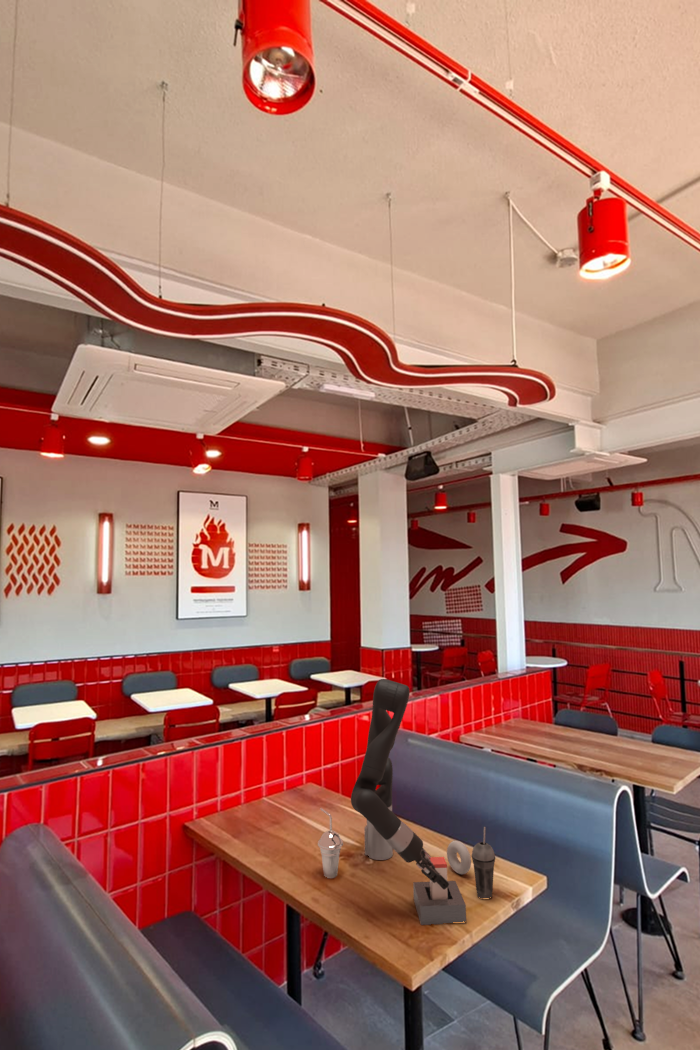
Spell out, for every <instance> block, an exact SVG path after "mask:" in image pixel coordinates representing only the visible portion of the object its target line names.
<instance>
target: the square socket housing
mask: <svg viewBox="0 0 700 1050" xmlns="http://www.w3.org/2000/svg"><path fill="white" fill-rule="evenodd" d="M447 882H448V883H449V886H448V887H447V892H448V899H445V900H430V881H414V882H413V884H412V885H413V887H412V888H413V902H414V906H415V909H416V913H417V916H418V919H419V920H418V921H419V922H420V923H419V924H420V925H421V926H424V925H425V926H427V925H428V926H431V924H434V925H444V924H443V923H453V922H463V921H464V922H465V921H466V922H467V907H466V906H467V904H466V902H465V901H464V900H465V899H464V897H463V894H462V893H461V891H460V888H459V887H458V883H457V882H456V880H447Z"/></svg>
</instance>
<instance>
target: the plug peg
mask: <svg viewBox="0 0 700 1050" xmlns="http://www.w3.org/2000/svg"><path fill="white" fill-rule="evenodd" d="M430 861H431V862H432V863H433V865H434V866H435V869H436V870H437V871H438V872H439V873H440V875H441V876H442V877H443V878H444V879H445V880H446V881H448V864H447V861H446V859H445V857H444V856H433V857H432V856H431V858H430ZM430 867H432V865H431V866H430ZM434 875H435V874H434ZM434 875H433V876H434ZM429 882H430V900H445V899H448V892H447V888H446V889H443V888H442V887H441V886H440V885H439V884H438V883H437V882H435V883H433V882H432V881H431V880H430V879H429Z"/></svg>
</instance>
